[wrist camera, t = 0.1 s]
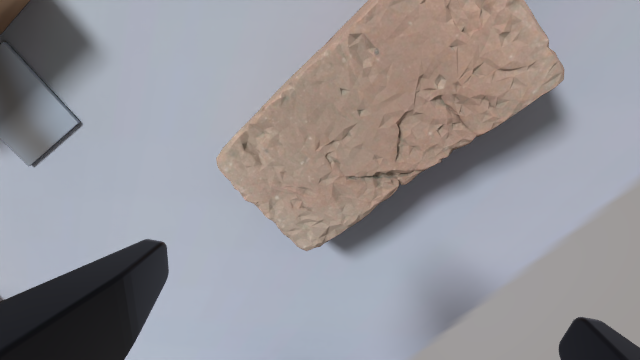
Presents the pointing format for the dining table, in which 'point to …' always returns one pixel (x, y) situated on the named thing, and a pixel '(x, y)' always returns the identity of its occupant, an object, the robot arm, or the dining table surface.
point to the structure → (27, 101)
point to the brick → (386, 108)
